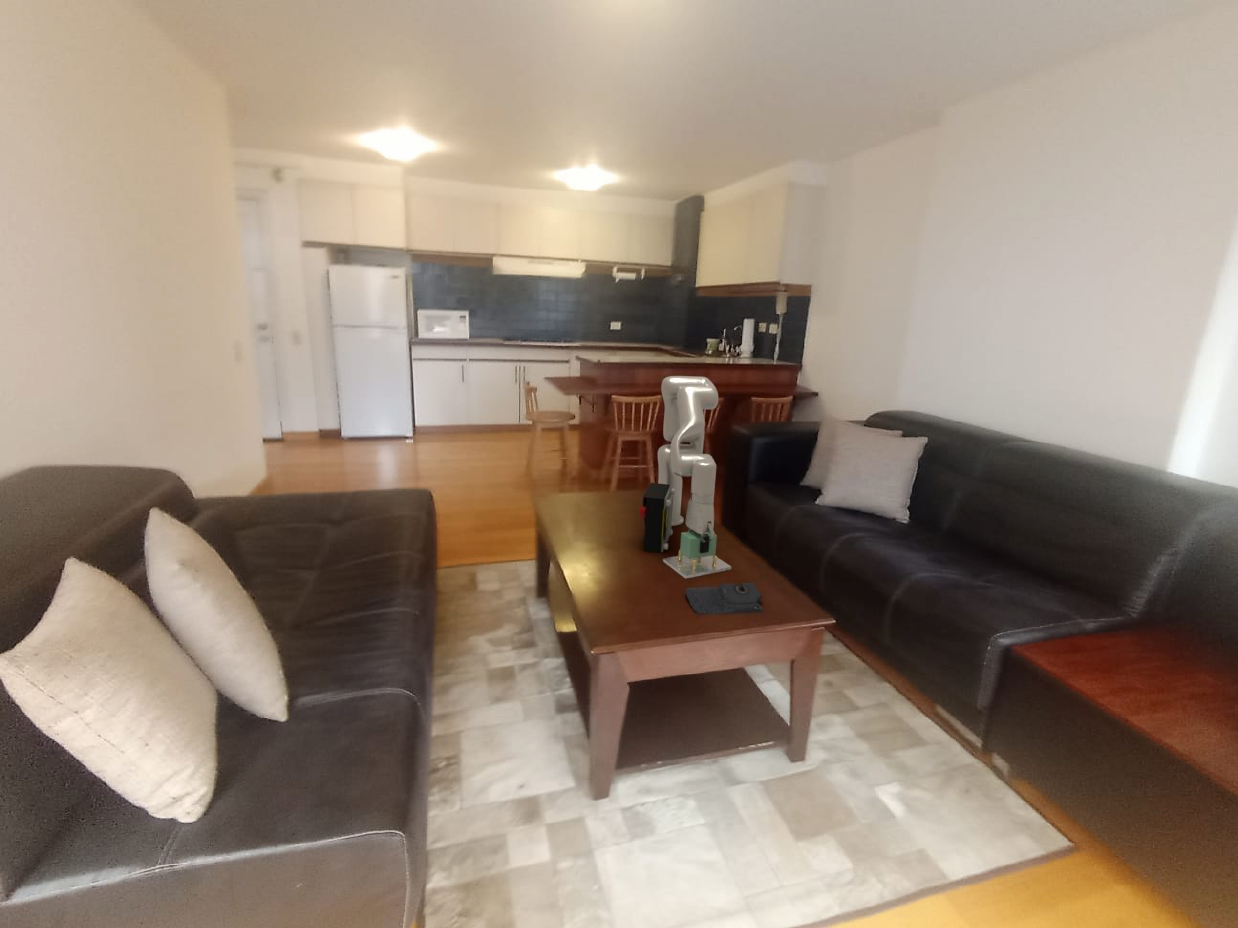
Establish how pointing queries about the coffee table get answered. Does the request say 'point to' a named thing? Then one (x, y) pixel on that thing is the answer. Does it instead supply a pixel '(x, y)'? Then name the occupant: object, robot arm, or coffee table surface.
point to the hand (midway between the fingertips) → (698, 548)
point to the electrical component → (657, 516)
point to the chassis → (696, 565)
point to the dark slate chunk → (725, 599)
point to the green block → (695, 545)
